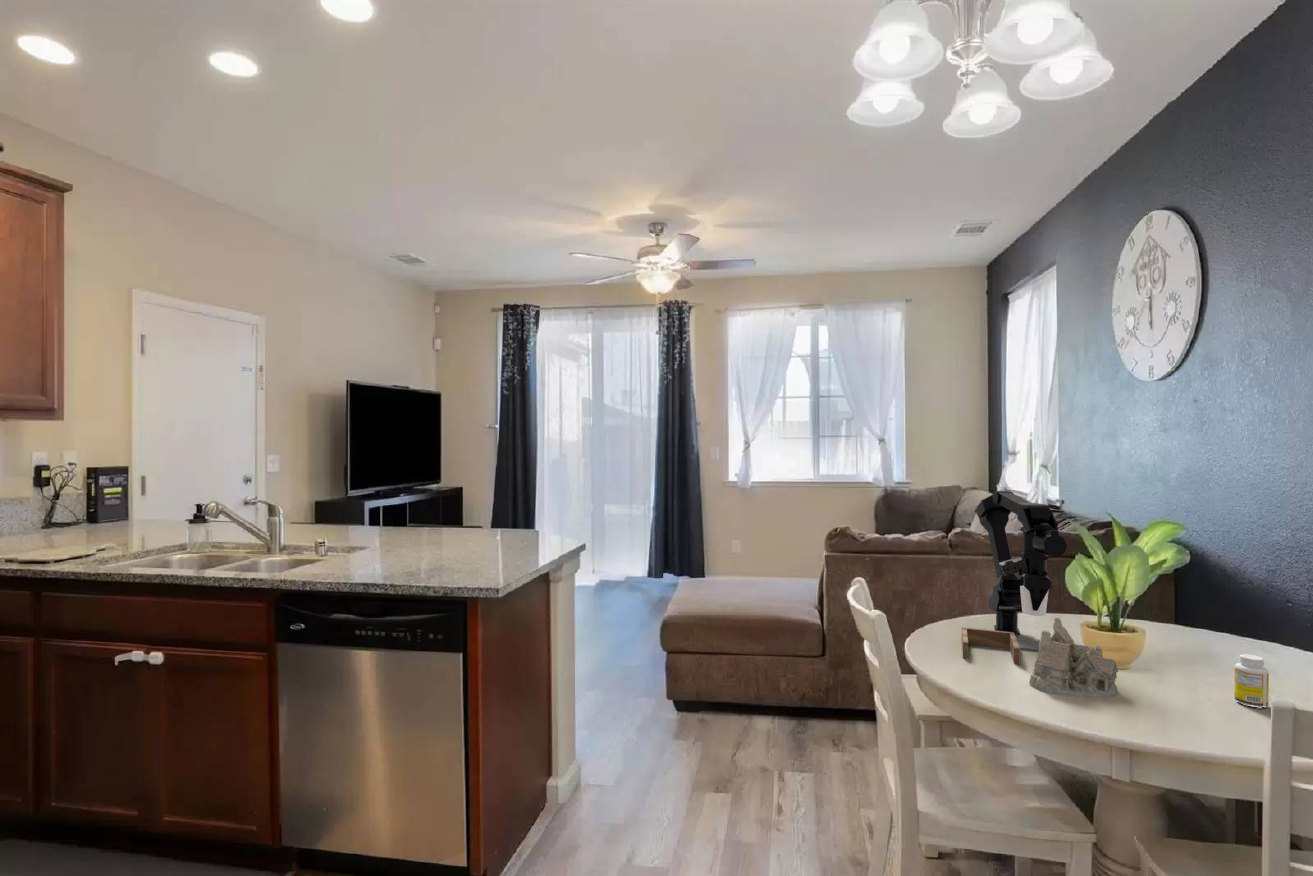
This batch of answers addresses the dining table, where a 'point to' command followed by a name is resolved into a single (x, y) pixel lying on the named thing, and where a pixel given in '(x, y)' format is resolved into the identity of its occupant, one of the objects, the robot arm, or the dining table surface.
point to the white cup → (1028, 605)
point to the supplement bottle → (1251, 681)
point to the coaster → (1028, 644)
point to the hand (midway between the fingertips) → (1033, 607)
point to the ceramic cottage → (1072, 667)
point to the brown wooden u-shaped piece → (990, 640)
